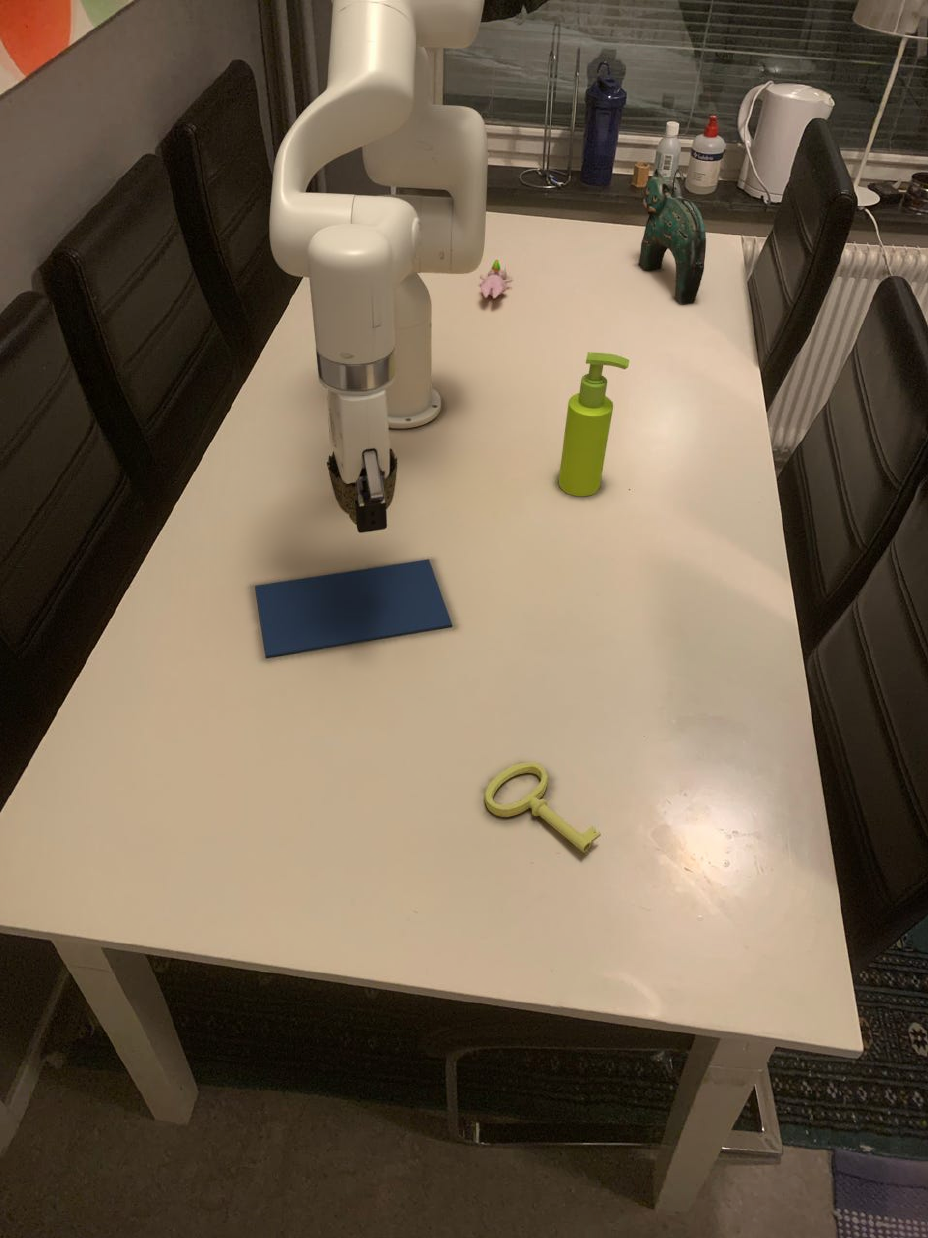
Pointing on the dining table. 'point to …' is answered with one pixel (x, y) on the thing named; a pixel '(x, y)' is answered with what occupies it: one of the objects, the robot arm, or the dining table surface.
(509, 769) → the key
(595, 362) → the soap dispenser
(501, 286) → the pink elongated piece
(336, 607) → the cloth
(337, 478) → the dark brown rounded piece
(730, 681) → the dining table surface
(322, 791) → the dining table surface
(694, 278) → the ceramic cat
